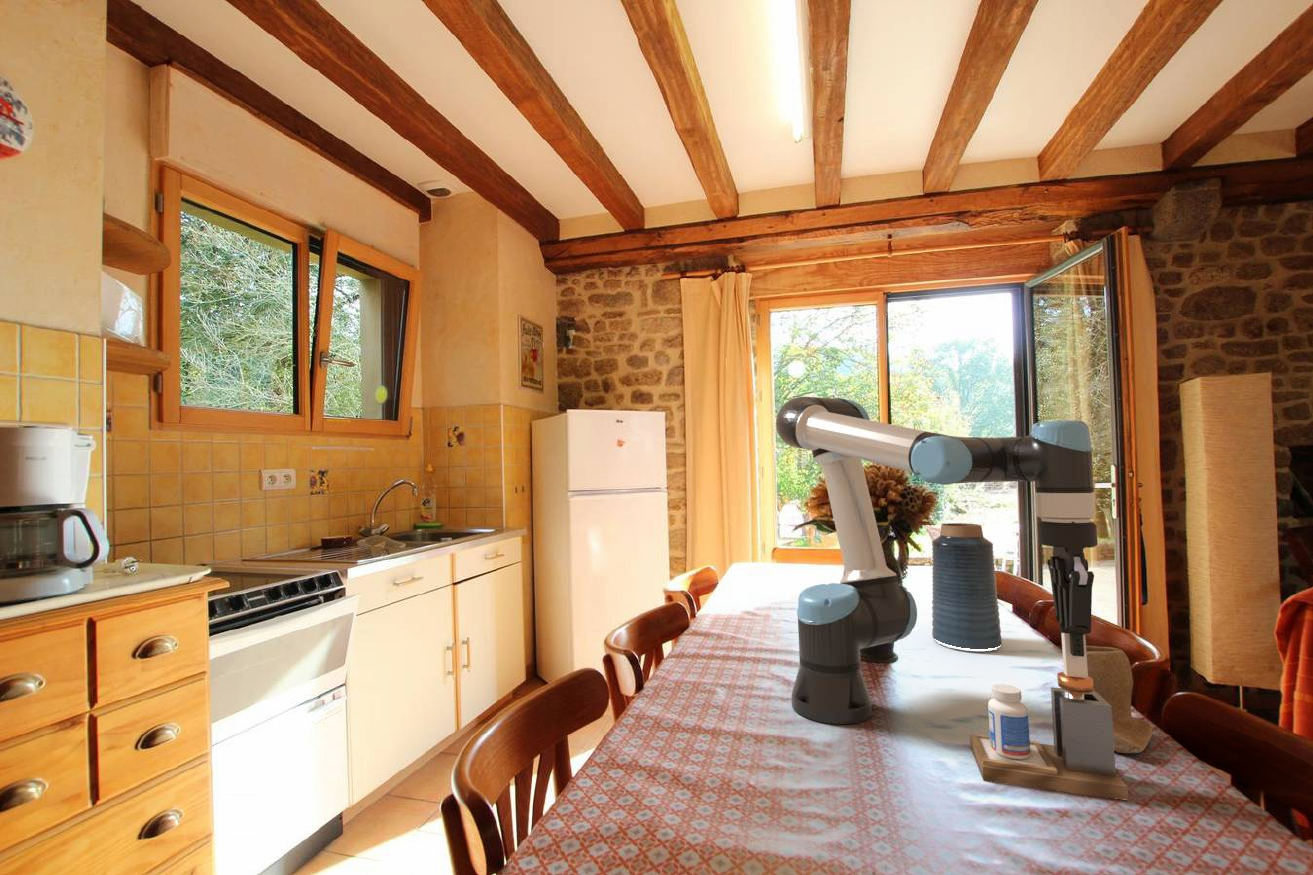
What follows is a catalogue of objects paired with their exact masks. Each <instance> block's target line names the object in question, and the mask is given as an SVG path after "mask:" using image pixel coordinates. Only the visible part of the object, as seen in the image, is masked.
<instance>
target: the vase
mask: <svg viewBox="0 0 1313 875" xmlns="http://www.w3.org/2000/svg"><path fill="white" fill-rule="evenodd" d="M931 543H932V544H931V546H932V548H931V550H932V551H931V552H932V556H931V557H932V560H931V561H932V564H931V565H932V568H931V569H932V573H931V574H932V576H931V577H932V584H931V585H932V588H931V590H932V593H931V594H932V600H931V602H932V603H931V604H932V607H931V610H932V614H931V617H932V621H931V622H932V623H931V624H932V625H931V626H932V630H931V631H932V633H931V634H932V635H931V636H932V639H933V638H934V639H936V640H938V641H940V642H942V643H945V644H948V645H952V646H956V647H961V648H970V649H988V648H995V647H998V646H1000V645H1001V644H1003V642H1002V640H1003V639H1002V635H1001V632H1002V630H1001V620H1000V611H999V610H1000V608H999V607H1000V606H999V601H998V590H997V580H996V567H995V564H996V563H995V558H994V557H995V555H994V550H993V549H994V543H993V542H991V540H988V539H987V538H986V537H984V534H983V527H982V525H981V524H978V523H976V524H975V523H965V522H963V523H961V522H960V523H959V522H956V523H955V522H954V523H951V522H948V523H941V525H940V535H939V536H938V537H936V538H935V539H933V540H932V541H931ZM934 639H933V640H934ZM1001 646H1002V645H1001Z"/></svg>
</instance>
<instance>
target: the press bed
mask: <svg viewBox="0 0 1313 875" xmlns="http://www.w3.org/2000/svg"><path fill="white" fill-rule="evenodd" d="M969 742H970V746H969V747H970V750H971V752H972V754H973V757H974V760H975V762H976V765H977V768H978V770H979V773H980V776H981V778H982V780H983V781H986V782H991V781H992V783H998V784H999V783H1000V784H1006V785H1013V786H1019V787H1020V786H1021V787H1025V786H1026V788H1033V789H1034V788H1035V789H1039V788H1040V789H1041V790H1046V789H1049V790H1048V791H1053V790H1056V791H1055V792H1060V791H1064V792H1063V793H1067V792H1068V793H1067V794H1076V795H1083V796H1087V797H1088V796H1089V797H1095V796H1097V798H1102V797H1107V798H1106V799H1108V798H1117V799H1127V800H1128V801H1129V791H1128V788H1129V787H1128V785H1127V784H1126V783H1125V781H1123V780H1122V778H1121V777H1120V776H1119V774H1118V773H1117V772H1116V777H1111V776H1104V775H1096V774H1089V773H1081V772H1074V771H1067V770H1066V768H1065V767H1064V765H1063V757H1057V755H1056V754H1055V752H1054V744H1046V743H1040V742H1039V741H1037V740H1031V739H1030V756H1029V757H1028V758H1026V759H1011V758H1007V757H1004V756H1001V755H999V754H997V753H995V752H994V751H993V750H992V748H991V744H990V734H989V735H988V734H982V733H981V734H979V733H974V732H973V733H972V732H971V734H970V735H969ZM1042 788H1043V789H1042ZM1058 790H1059V791H1058Z"/></svg>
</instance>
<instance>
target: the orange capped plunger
mask: <svg viewBox="0 0 1313 875" xmlns="http://www.w3.org/2000/svg"><path fill="white" fill-rule="evenodd" d="M1057 685H1058V688H1063V689H1065V690H1068V698H1070V699H1080V700H1084V693H1091V692H1093V679H1092V678H1091V677H1089V676H1088V678H1083V677H1071V676H1066V675H1065V674H1064V671H1060V672H1057Z"/></svg>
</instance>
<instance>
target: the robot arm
mask: <svg viewBox="0 0 1313 875" xmlns="http://www.w3.org/2000/svg"><path fill="white" fill-rule="evenodd" d="M775 427H776V432H777V434H778V436H779V438H780V439H781V440H782V441H783V442H784V443H785V444H786V445H788V446H790V447H793V448H797V449H803V450H805V451H806V450H807V451H811V453H812V457H813V461H814V462H815V463H817V464H818V465H820V467H822V471H823V477H824V480H825V486H826V490H827V493H828V499H829V503H830V508H831V513H832V518H833V522H834V525H835V532H836V535H837V541H838V544H839V547H840V548H839V549H840V554H841V559H842V562H843V567H844V571H845V573H844V574H843V577H842V578H841V579H840V580H839V581H840V582H839V583H836V582H835V583H834V582H832V583H831V582H830V583H826V584H825V583H822V584H821V583H820V584H815V585H812V586H809V587H807V588H805V589H804V590H802V591H801V592H800V593H799V596H798V599H797V600H798V601H797V604H798V605H797V606H798V607H797V611H796V616H797V626H798V631H797V632H798V649H799V650H798V652H799V654H798V655H799V657H798V658H799V668H798V671H797V675H796V676H795V677H796V678H795V681H794V684H793V688H792V691H791V708H792V709H793V710H794V712H796V713H797V714H799V715H800V716H802V717H804V718H806V719H809V720H812V721H815V722H819V723H824V724H832V725H850V724H852V725H853V724H858V723H862V722H864V721H866V720H869V718H870V717H872V713H873V708H872V707H873V706H872V704H873V703H872V698H871V696H870V693H869V690H868V687H867V684H866V682H865V678H864V676H863V673H862V669H861V668H862V667H861V664H862V663H861V650H862V649H868V648H871V647H875V646H879V645H884V644H885V645H886V644H887V645H888V644H889V645H890V644H894V643H895V642H896V643H897V641H900V640H903V639H905V638H906V637H908V636H909V635H910V634H911V633H912V631H913V630H914V628H915V626H916V624H917V619H918V609H917V608H918V607H917V602H916V601H915V598H914V596H913V594H912V592H910V591H908V588H907V587H905V586H904V585H902V584H901V583H899V579H898V576H897V573H896V572H895V571H893V570H892V569H890V568H889V567H888V566H887V562H886V558H885V553H884V548H883V545H882V542H881V536H880V533H879V528H878V525H877V520H876V516H875V513H874V508H873V504H872V500H871V496H870V491H869V486H868V482H867V479H866V473H865V470H864V466H863V462H862V461H865V462H866V461H867V462H871V463H874V464H877V465H882V466H884V467H885V466H886V467H889V468H893V469H895V470H896V469H897V470H900V471H904V472H907V473H911V474H914V475H917V476H918V478H920V480H923V481H924V482H925V483H929V484H938V485H944V486H945V485H946V486H947V485H953V484H967V483H969V484H970V483H972V484H973V483H996V482H997V483H998V482H1000V483H1004V482H1007V483H1008V482H1010V483H1011V482H1034V488H1035V493H1034V494H1035V509H1036V510H1035V511H1036V513H1035V514H1036V516H1037V517H1038V518H1040V519H1041V520H1039V521H1038V522H1037V535H1038V536H1037V537H1038V538H1037V539H1038V543H1039V544H1040V545H1043V546H1047V547H1052V556H1050V557H1049V559H1047V561H1046V562H1047V563H1046V564H1047V567H1048V571H1049V575H1050V583H1051V591H1052V599H1053V607H1054V615H1055V617H1054V618H1055V621H1056V622H1057V623H1058V626H1059V632H1060V633H1061V648H1062V649H1061V650H1062V651H1061V652H1062V663H1063V664H1062V666H1063V672H1064V674H1065V675H1066V676H1071V677H1083V678H1088V669H1087V653H1086V646H1087V639H1086V638H1087V637H1086V635H1087V634H1091V632H1092V606H1093V604H1092V603H1093V602H1092V600H1093V596H1092V595H1093V584H1094V579H1095V574H1094V572H1093V571H1089V562H1088V559H1086V557H1085V553H1084V549H1086V548H1087V549H1088V548H1095V547H1097V545H1098V543H1099V542H1098V541H1099V540H1098V527H1097V524H1096V523H1095V522H1094V521H1092V519H1093V520H1094V519H1095V518H1096V506H1095V505H1098V504H1099V499H1098V498H1096V497H1095V487H1094V468H1093V451H1094V449H1093V447H1092V441H1091V434H1090V427H1089V425H1088V424H1087V423H1086V422H1084V421H1083V420H1074V419H1072V420H1071V419H1070V420H1050V421H1048V420H1047V421H1043V422H1039V421H1038V422H1036V423H1034V424H1033V425H1032V426H1031V432H1030V435H1024V436H1012V437H1011V436H1010V437H1009V436H1008V437H1006V436H1005V437H1004V436H1003V437H975V436H973V437H971V436H967V437H964V436H954V435H948V434H943V433H937V432H931V431H926V430H921V429H915V428H911V427H906V426H901V425H895V424H891V423H884V422H880V421H876V420H871V418H870V416H869V413H868V412H867V410H866V409H865V408H864V407H863V406H862V405H861V404H860V403H858V402H856V401H854V400H851V399H846V398H842V397H834V398H833V397H831V398H830V397H817V396H816V397H815V396H799V397H794V398H792V399H789V400H787V402H785V403H784V404H783V405H782V406H781V407H780V409H779V411H778V413H777V414H776V419H775ZM832 462H833V463H832Z"/></svg>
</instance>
